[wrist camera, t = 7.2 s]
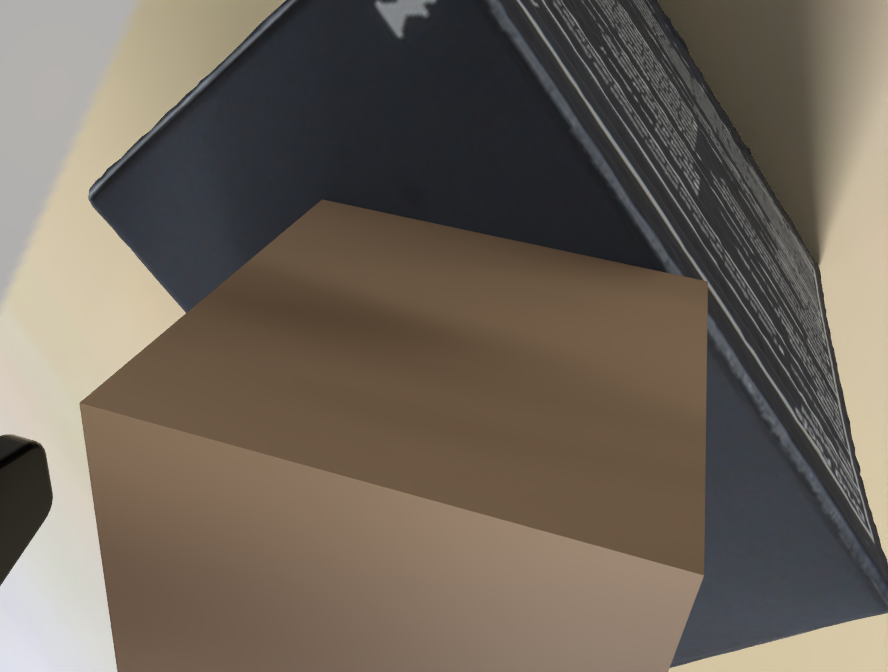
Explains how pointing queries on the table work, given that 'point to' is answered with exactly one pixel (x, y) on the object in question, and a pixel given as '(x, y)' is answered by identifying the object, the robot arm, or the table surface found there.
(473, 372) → the walnut cube
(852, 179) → the table surface
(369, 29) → the small box
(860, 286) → the table surface
